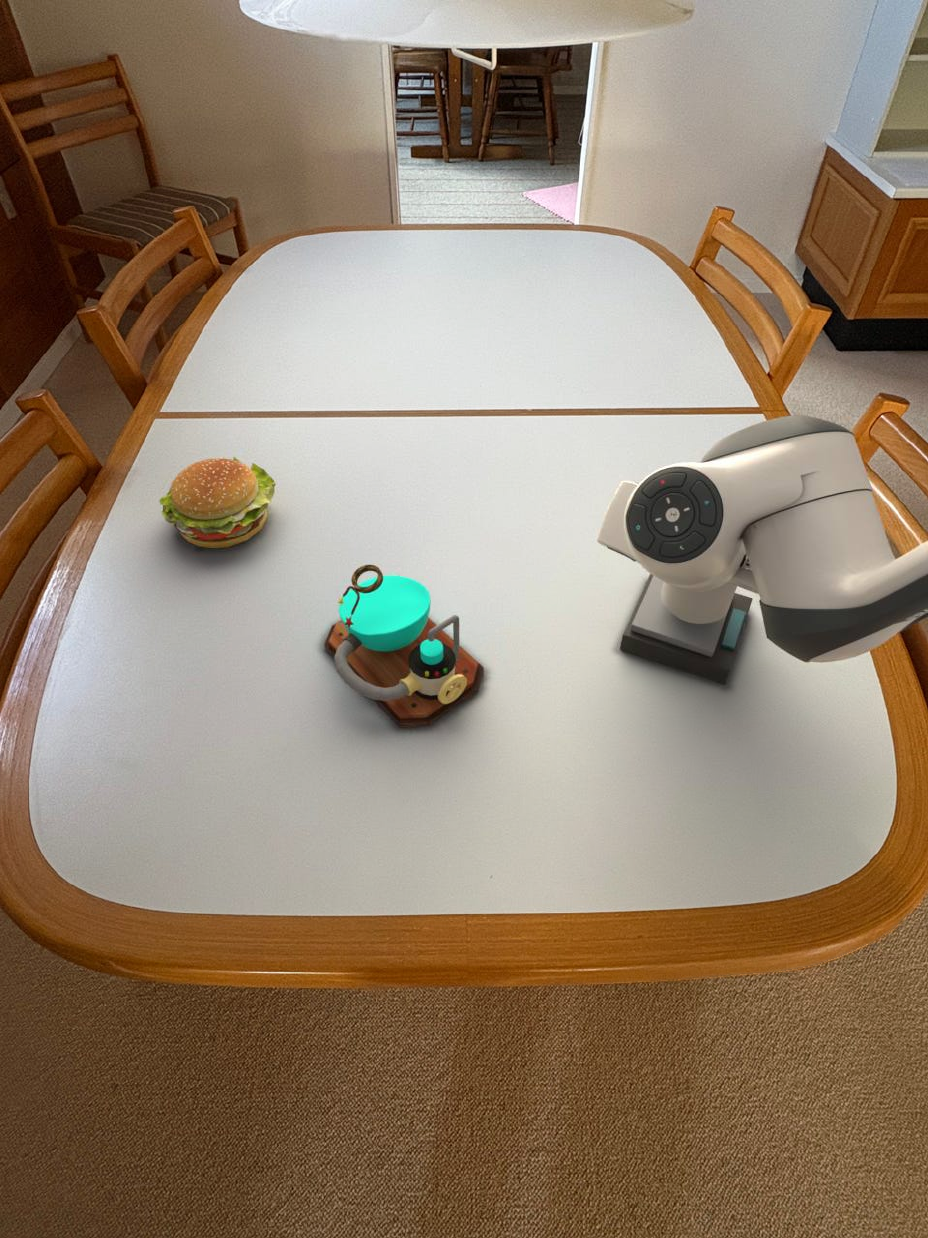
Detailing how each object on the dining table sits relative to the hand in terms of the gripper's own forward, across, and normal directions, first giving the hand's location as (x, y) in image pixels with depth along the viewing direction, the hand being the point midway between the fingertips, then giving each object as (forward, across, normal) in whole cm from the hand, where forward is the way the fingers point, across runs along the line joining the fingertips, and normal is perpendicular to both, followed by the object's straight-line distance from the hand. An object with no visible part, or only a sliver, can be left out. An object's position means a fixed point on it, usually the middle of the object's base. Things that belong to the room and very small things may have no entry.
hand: (708, 559), depth 84 cm
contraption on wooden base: (-8, +26, +24) cm, 36 cm away
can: (+4, 0, +5) cm, 7 cm away
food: (-2, +59, +18) cm, 62 cm away
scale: (+7, 0, +8) cm, 11 cm away
